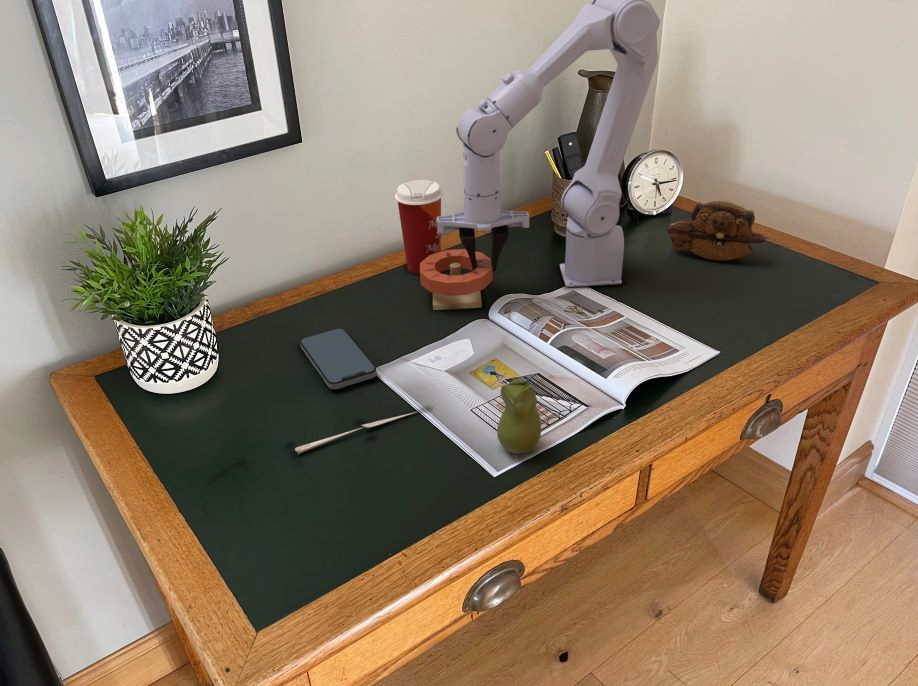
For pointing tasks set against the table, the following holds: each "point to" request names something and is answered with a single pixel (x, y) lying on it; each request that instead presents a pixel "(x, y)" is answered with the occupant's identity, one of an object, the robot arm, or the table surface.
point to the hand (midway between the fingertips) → (483, 268)
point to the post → (456, 296)
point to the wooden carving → (716, 231)
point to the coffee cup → (419, 220)
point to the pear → (519, 418)
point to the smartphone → (338, 359)
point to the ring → (455, 283)
